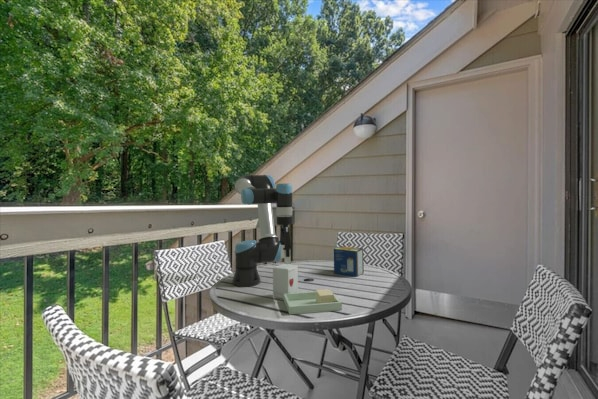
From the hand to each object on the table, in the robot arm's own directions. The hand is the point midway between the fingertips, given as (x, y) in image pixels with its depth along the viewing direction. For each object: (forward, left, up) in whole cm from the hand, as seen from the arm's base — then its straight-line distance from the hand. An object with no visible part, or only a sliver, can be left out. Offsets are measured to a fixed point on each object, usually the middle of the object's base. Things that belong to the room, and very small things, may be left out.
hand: (285, 260), depth 148 cm
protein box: (-36, +44, -18) cm, 59 cm away
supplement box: (0, 0, -18) cm, 18 cm away
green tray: (+15, +9, -18) cm, 25 cm away
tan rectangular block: (+15, +15, -17) cm, 27 cm away
